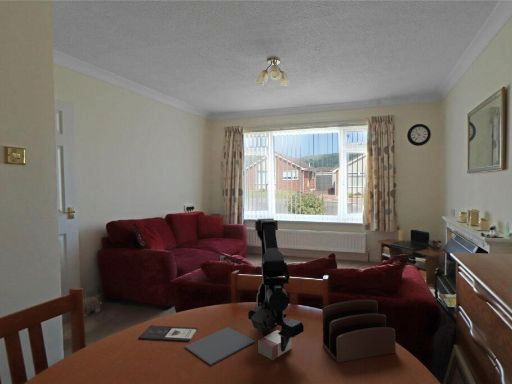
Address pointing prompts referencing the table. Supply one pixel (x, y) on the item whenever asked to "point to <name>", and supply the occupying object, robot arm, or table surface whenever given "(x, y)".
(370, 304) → the letter holder
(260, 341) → the card box
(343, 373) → the table surface
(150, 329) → the chocolate bar
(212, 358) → the mat
